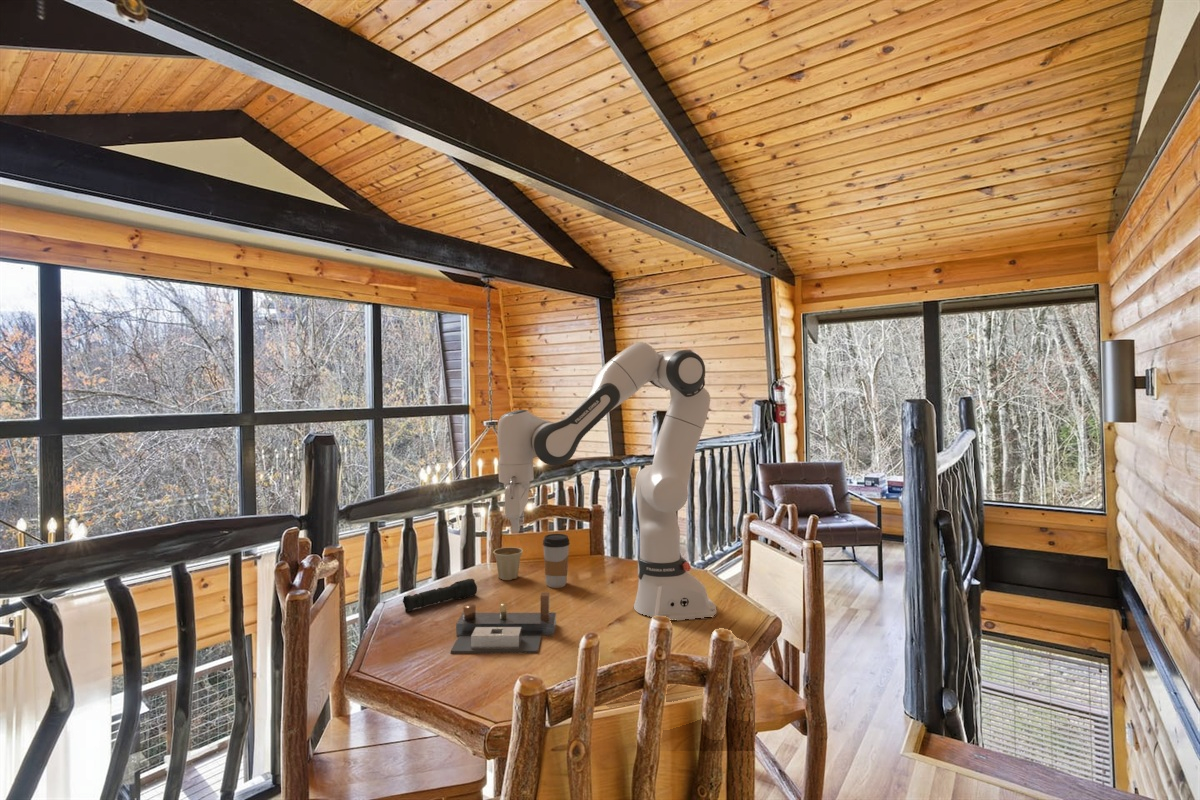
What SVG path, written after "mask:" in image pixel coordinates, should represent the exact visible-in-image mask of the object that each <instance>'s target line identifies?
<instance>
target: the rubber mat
mask: <svg viewBox="0 0 1200 800" xmlns="http://www.w3.org/2000/svg"><path fill="white" fill-rule="evenodd" d="M541 641H542V636H522V640H521V643H520V646H519V649H471V636H457V638H456V641H454V644H453V646H452V647H451V650H450V654H538V653H539V650H540V645H541Z"/></svg>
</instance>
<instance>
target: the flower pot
mask: <svg viewBox="0 0 1200 800" xmlns="http://www.w3.org/2000/svg"><path fill="white" fill-rule="evenodd" d="M523 552H524V551H523V549H522V548H520V547H514V546H513V547H509V546H508V547H500V548H496V549H495V550H493V554H494V557H495V561H496V568H497V576H498V579H500V580H501V579H502V581H512V580H515V579H518V577H519V569H520V563H521V557H522V554H523Z"/></svg>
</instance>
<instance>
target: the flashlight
mask: <svg viewBox="0 0 1200 800" xmlns="http://www.w3.org/2000/svg"><path fill="white" fill-rule="evenodd" d="M477 592H478V586H477V584H476V581H475V579H474V578H467V579H463V580H458V581H456V582H454V583H452V584H450V585H449V586H444V587H438V588H437V589H436V588H434V589H429V590H426V591H421V592H419V593H414V594H412V595H410V594H408V595H404V596H403V599H402V603H403V605H404V611H405V612H406V611H407V612H406V613H408V612H411V611H413V610H414V609H420V608H424V607H426V606H427V607H428V606H431V605H435V604H438V603H440V602H441V603H443V602H446V601H449V600H460V599H459V598H462V599H465V598H464V597H466V598H469V597H468V596H470V597H473V596H475V595H476V594H477ZM472 595H473V596H472Z"/></svg>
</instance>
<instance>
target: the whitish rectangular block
mask: <svg viewBox="0 0 1200 800" xmlns="http://www.w3.org/2000/svg"><path fill="white" fill-rule="evenodd" d="M521 640H522V627H475V629H474V631H473V633H472V635H471V649H519V646H520V643H521Z"/></svg>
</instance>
